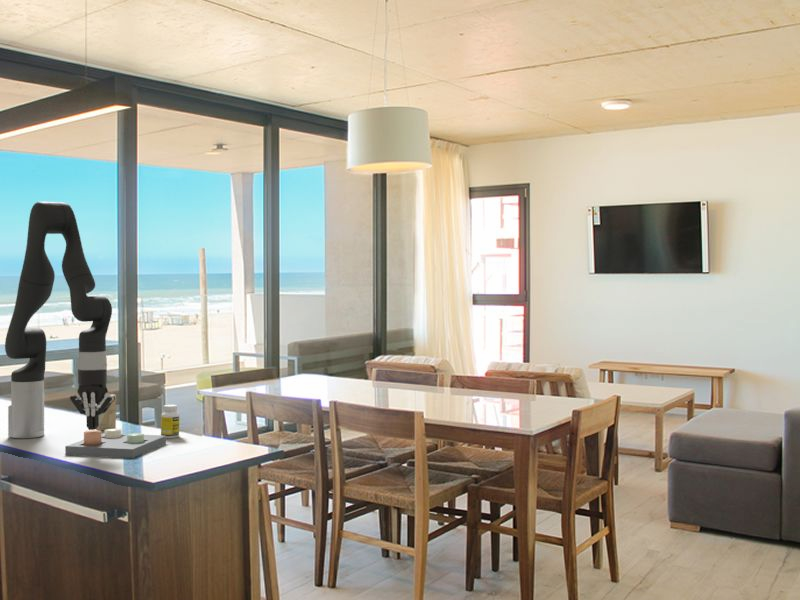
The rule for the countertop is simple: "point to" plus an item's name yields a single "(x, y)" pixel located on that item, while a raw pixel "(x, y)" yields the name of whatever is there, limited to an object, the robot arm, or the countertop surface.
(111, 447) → the panel
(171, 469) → the countertop surface
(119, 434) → the cream piece
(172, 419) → the supplement bottle
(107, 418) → the box
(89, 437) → the terracotta button
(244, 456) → the countertop surface
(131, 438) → the sage button
